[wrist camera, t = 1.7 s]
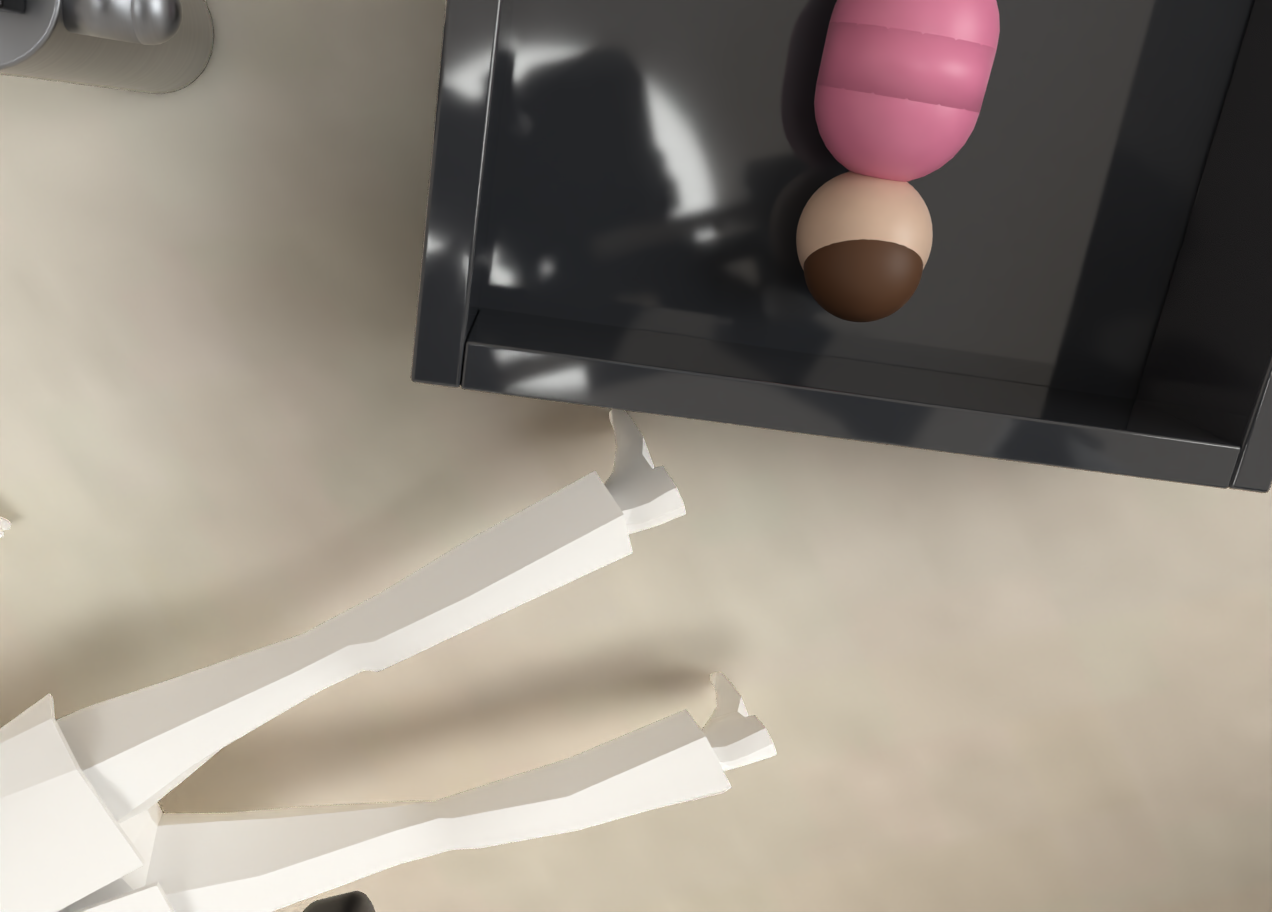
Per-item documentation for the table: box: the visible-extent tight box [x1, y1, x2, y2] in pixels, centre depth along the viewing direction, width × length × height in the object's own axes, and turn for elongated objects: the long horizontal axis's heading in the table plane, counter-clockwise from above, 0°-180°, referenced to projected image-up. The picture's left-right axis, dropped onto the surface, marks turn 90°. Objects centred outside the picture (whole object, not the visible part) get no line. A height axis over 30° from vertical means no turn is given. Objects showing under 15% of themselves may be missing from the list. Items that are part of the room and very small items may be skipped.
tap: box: [0, 0, 214, 94], centre depth 15 cm, size 4×2×7 cm, turn 81°
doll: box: [796, 0, 1000, 322], centre depth 17 cm, size 8×3×3 cm, turn 171°
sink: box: [410, 0, 1272, 493], centre depth 17 cm, size 15×12×4 cm
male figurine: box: [0, 409, 777, 912], centre depth 19 cm, size 14×6×25 cm
